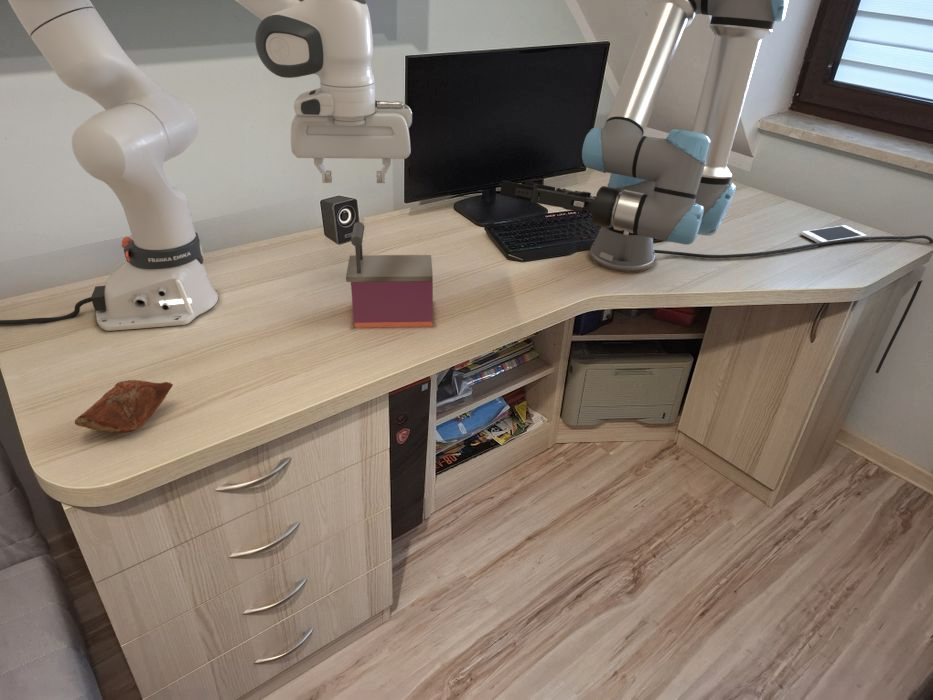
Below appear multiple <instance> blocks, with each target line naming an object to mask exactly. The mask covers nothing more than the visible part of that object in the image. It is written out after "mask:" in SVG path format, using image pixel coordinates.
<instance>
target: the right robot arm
mask: <svg viewBox="0 0 933 700" xmlns="http://www.w3.org/2000/svg"><path fill="white" fill-rule="evenodd" d="M789 1H790V0H646V3H645V7H644V12H645V13H644V14H645V16H646V18H645V21H644V23H643V25H642V28H641V30H640V32H639V36H638V38H637V41H636V43H635V46H634V48H633V51H632V54H631V56H630V59H629V62H628V64H627V66H626V69H625V72H624V74H623V77H622V80H621V81H620V84H619V87H618V89H617V92H616V94H615V97H614V99H613V103H612V104H611V107H610V110H609V112H608V115H607V117H606V120H605V124H604V126H603V128H602V127H593V128H591V129H589V131H588V133H587V134H586V136H585V138H584V141H583V144H582V149H581V159H582V163H583V165H584V167H585V168H587V169H590V170H594V171H597V172H600V173H603V174H607V173H608V174H610V176H609V181H608V183H607V186H606V185H603V186H601V187H599V189H598V190H597V192H596V195H592V192H589V191H585V190H584V191H580V190H570V189H566V188H561V187H558V188H556V187H555V186H551V185H546V184H540V183H536V182H531V181H525V182H524V184H523V183H519V182H512V181H508V180H504V179H503V180H501V185H500V191H499V196H504V197H508V198H513V199H517V200H522V201H527V202H530V203H532V204H539V205H546V206H550V207H555V208H556V207H557V208H561V209H564V210H566V211H573V212H575V213H577V214H587V213H588V212H590V213H591V216H590V221H591V224H592V225H593V226H596V227H600V229H599V231H598V233H597V235H596V237H595V239H594V241H593V243H592V244H591V246H590V250H589V258H590V260H591V261H592V262H593V263H595V265H596V264H597V265H598V266H600V267H601V268H604V269H606V270H610V271H614V272H619V273H640V272H645V271H647V270H649V269H651V268H652V267H653V266H654V263H655V259H656V254H663V255H673V256H682V257H692V258H702V259H732V258H748V257H758V256H768V255H775V254H780V253H787V252H793V251H799V250H803V249H804V250H805V249H808V248H809V249H810V248H815V247H818V246H819V247H820V246H826V245H832V244H839V243H840V244H841V243H847V242H848V243H849V242H856V241H857V242H859V241H877V240H914V239H925V240H927V241H929V243H931V244H933V238H932V237H931V236H929V235H925V234H916V235H905V236H902V235H901V236H900V235H888V236H887V235H885V236H884V235H882V236H866V237H858V238H847V239H840V240H833V241H827V242H819V243H817V242H815V243H809V244H804V245H798V246H793V247H786V248H780V249H774V250H767V251H758V252H747V253H733V254H706V253H705V254H704V253H703V254H702V253H694V252H683V251H675V250H674V251H673V250H666V249H665V250H664V249H654V239H655V240H659V241H663V242H666V243H674V244H679V245H685V246H688V245H691V244H692V243H694V242H695V241H696V239H697V236H698V235H700V236H707V237H710V236H713V235H714V234H716V233H717V231H718V230H719V228H720V227H721V224H722V222H723V220H724V218H725V216H726V215H727V212H728V210H729V208H730V206H731V203H732V201H733V198H734V196H735V193H736V191H737V190H736V189H737V186H736V184H734V183H731V180H732V176H733V174H732V172H731V171H730V169H729V167H728V163H729V159H730V155H731V152H732V148H733V145H734V141H735V137H736V133H737V130H738V125H739V122H740V119H741V115H742V111H743V108H744V104H745V101H746V96H747V93H748V90H749V85H750V81H751V78H752V74H753V71H754V67H755V63H756V60H757V56H758V54H759V49H760V46H761V43H762V41H763V39H765V38H766V37H767V36H768V35H770V34H771V33H772V32H773V30H774V26H775V22H776V23H779V22H783V21H784V20H785V17H786V15H787V9H788V5H789ZM696 15H705V16H711V18H710V21H709V22H710V23H709V28H710V29H711V31H712V33H713V35H714V39H713V43H712V48H711V52H710V55H709V59H708V65H707V68H706V72H705V77H704V80H703V85H702V88H701V93H700V97H699V101H698V106H697V109H696V113H695V117H694V121H693V126H692V129H691V130H685V129H675V128H674V129H671V130H670V131H669V132H668V135H667V137H666V138H661V137H653V136H646V135H644V134H645V132H646V129H647V127H648V124H649V121H650V119H651V117H652V113H653V110H654V108H655V106H656V103H657V100H658V98H659V95H660V92H661V90H662V87H663V85H664V82H665V79H666V77H667V74H668V71H669V69H670V67H671V63H672V61H673V58H674V57H675V53H676V50H677V48H678V45H679V43H680V40H681V38H682V36H683V33H684V30H685V29H686V28H688V27H689V26H690V25H691V24H692V23H693V21H694V18H695V16H696ZM922 282H923V279H921V280H918V281H917V284H916V285H915V288H914V290H913V293H912V295H911V297H910V299H909V301H908V303H907V305H906V307H905V310H904V312H903V314H902V316H901V317H900V320H899V321H898V324H897V326H896V328H895V330H894V332H893V334H892V336H891V338H890V340H889V342H888V344H887V346H886V348H885V351H884V353H883V354H882V357H881V358H880V361H879V363H878V365H877V368H876V370H875V374H879V373H880V371H881V368H882V366H883V364H884V362H885V361H886V358H887V356H888V354H889V352H890V350H891V348H892V345H893V344H894V341H895V339H896V337H897V335H898V334H899V332H900V329H901V328H902V326H903V323H904V321H905V319H906V317H907V315H908V313H909V312H910V310H911V307H912V305H913V303H914V300H915V299H916V296H917V295H918V292H919V290H920V287H921V285H922Z"/></svg>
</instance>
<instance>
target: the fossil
mask: <svg viewBox="0 0 933 700" xmlns="http://www.w3.org/2000/svg"><path fill="white" fill-rule="evenodd" d="M173 386H174V384H173V383H172V382H168V381H164V382H152V381H146V380H139V379H129V380H122V381H119V382H117V383H116V384H115V385H114V386H113V387H112V388H111V389H109V390H108V391H106V392H105V393H104V394H103V395H102V396H101V397H100V398H99V399H98V400H97V401H96V402H94V403H93V404H92V406H90V407H88V409H86V410H85V411H83V413H81V414H80V415H79V416H77V417H76V419H75V420H74V425H76V426H77V427H81V428H86V429H88V430H89V429H90V430H92V431H93V430H95V431H99V432H110V433H116V434H117V433H120V434H125V433H131V432H133V431H136V430H138V429H140V428H141V427H142V426H144V425H145V424H146V423H147V421H148V420H149V419H150V418H151V417H152V416H153V415H154V414H155V413H156V411H157V409H159V407H160V406H161V404H162V403H163V402H164V400H165V398H166V397H167V395H168V393H169V392H170V391H171V389H172V388H173Z"/></svg>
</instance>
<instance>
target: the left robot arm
mask: <svg viewBox="0 0 933 700" xmlns="http://www.w3.org/2000/svg"><path fill="white" fill-rule="evenodd" d="M234 1H235V2H236V3H238V4H239V5H240V6H242V7H243V8H245V9H246V10H248V11H249V12H250V13H251V14H253V15H254V16H255V17H257V18H258V19H260V20H261V21H260V23H259V24H258V26H257V29H256V31H255V38H254V40H255V41H254V43H255V49H256V52H257V55H258V57H259V60H260V61H261V63H262V64H263V66H264V67H265V68H266V69H267V70H268V71H269V72H271V73H272V74H274V75H275V76H277V77H280V78H285V79H287V78H288V79H297V78H300V77H305V76H309V75H310V76H311V75H315V76H318V78H319V86H320V87H318V88H314V89H312V90H309V91H305V92H302V93H300V94H299V95H298V96H297V97H296V98H295V100H294V103H293V110H294V113H295V115H294V117H293V119H292V121H291V124H290V125H291V126H290V149H291V153H292V154H293V156H294V157H296V158H297V159H313V164H314V166H315V167H316V169H317V170H318V172H319V173H320V174H321V179H322V183H323V184H331V183H332V182H333V176H332V170H327V169H326V167H325V165H324V164H323V163H324V160H325V159H366V160H368V159H377V160H382V165H383V166H382V168H381V170H376V173H375V174H376V184H386V174H387V172H388V170H389V168H390V166H391V163H392V162H391V161H392V160H406V159H408V157H410V155H411V154H412V153H411V151H412V150H411V149H412V148H411V136H410V128H411V126H412V124H413V112H412V109H411V108H410V106H409V105H407V104H405V103H404V102H403V101H400V100H395V101H388V100H376V98H377V97H376V80H375V79H376V78H375V76H374V73H373V72H374V71H373V57H374V38H373V28H372V26H373V25H372V20H371V14H370V10H369V6H368V4H367V1H366V0H234ZM7 2H8V3H9V5H10V7H11V9H12V10H13V12H14V15H15V17H17V19H18V20H19V22H20V24H21V25H22V27H23V28H24V30H25V31H26V33H27V35H28V36H29V38H31V40H32V42H33V43H34V44H35V46H36V48H37V49H38V50H39V52H40V53H41V55H42V56H43V58H44V59H45V60H46V62H47V63H48V64H49V66H50V67H51V68H52V70H53V72H54V73H55V74H56V76H57V77H58V78H59V80H60V81H61V82H62V83H63V84H64V85H65V86H66V87H68V89H69V88H70V89H71V90H73V91H75V92H79V93H81V94H83V95H86V96H87V97H89V98H91V99H92V100H94V101H95V103H97V104H99V105H100V107H102V108H103V111H100V112H97V113H94V114H93V115H92V116H90V117H88V119H86V120H85V121H84V122H82V123H81V124H80V125H79V126H78V127H76V128H75V130H74V131H73V133H72V137H71V148H72V152H73V155H74V157H75V159H76V161H77V163H78V165H79V166H80V167H81V168H82V169H83V170H84V171H85V172H86V173H87V174H88V175H90V176H91V177H93V178H94V179H97V180H98V181H101V182H103V183H104V184H105V185H107V186H108V187H109V188H110V189H111V191H112V192H113V193H114V194H115V196H116V198H117V199H118V201H119V203H120V205H121V207H122V209H123V212H124V215H125V219H126V221H127V224H128V227H129V231H130V234H131V237H129V236H125V237H123V238H122V240H121V247H122V248H123V253H124V257H125V260H126V261H125V262H123V264H122V265H121V266H119V267H118V268H117V269H116V270H115V271H114V272H113V273H111V274H110V275H109V277H108V278H107V280H106V282H105V285H96V286H95V287H94V289H93V291H92V293H91V296H90V297H87V298H82V299H81V300H79V301H78V302H76V304H75V305H74V310H73V311H72V312H70V313H68V314H66V315H62V316H61V315H60V316H55V317H54V316H53V317H33V318H21V319H0V326H3V325H4V326H5V325H7V326H10V325H26V324H36V323H52V322H58V321H63V320H68V319H72V318H74V317H77V315H79V314H80V311H81V307H82V306H84V305H86V304H88V303H92V306H93V309H94V311H95V317H96V322H97V324H98V326H99V327H100V328H101V329H102V330H103V331H106V332H111V331H112V332H113V331H125V330H137V329H139V330H140V329H151V328H164V327H174V326H184V325H188V324H190V323H191V322H192V321H194V319H195V318H197V317H198V316H200V315H202V314H204V313H206V312H208V311H209V310H211V309H212V308H213V307H214V306H215V305H216V304H217V303H218V300H219V295H218V292H217V291H216V290H215V288H214V286H213V284H212V282H211V280H210V278H209V274H208V272H207V270H206V267H205V264H204V258H205V257H204V256H205V255H204V251H203V246H202V241H201V239H200V237H199V234H198V232H197V231H196V230H195V229H196V228H195V225H194V224H195V223H194V219H193V216H192V211H191V207H190V201H189V199H188V196H187V194H185V193H184V192H183V191H182V190H181V189H179V188H177V187H175V186H173V185H171V183H170V182H169V180H168V178H167V176H166V173H165V171H164V163H166V162H168V161H169V160H171V159H174V158H176V157H178V156H180V155H181V154H183V153H184V152H185V151H186V150H187V149H188V148H189V147H190V146H191V145H192V143H193V142H194V141H195V140H196V138H197V136H198V131H199V126H198V125H199V124H198V119H197V117H196V115H195V113H194V111H193V109H192V108H191V107H190V106H189V104H188V103H187V102H185V100H183V99H181V98H180V97H178V96H176V95H173V94H171V93H170V92H168V91H166V90H164V89H163V88H161V86H159V85H157V84H156V83H155V82H154V81H153V80H152V79H151V78H150V77H148V76H147V74H146V73H144V71H142V70H141V69H140V68H139V67H138V65H136V64H135V63H134V62H133V61H132V59H131V58H130V57H129V56H128V54H127V53H126V52H125V50H124V49H123V48H122V46H121V45H120V44H119V42H118V41H117V39H116V37H115V35H113V33H112V31H111V30H110V28H109V27H108V26H107V25H106V22H105V21H104V20H103V17H102V16H101V15H100V14H99V12H98V11H97V9H96V7H95V6H94V5H93V2H92V1H91V0H7Z"/></svg>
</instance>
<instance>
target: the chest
mask: <svg viewBox="0 0 933 700" xmlns="http://www.w3.org/2000/svg"><path fill="white" fill-rule="evenodd" d="M433 281H434V280H433ZM433 281H402V282H350V286H351V287H350V288H351V302H352V316H353V328H355V329H359V328H361V329H363V328H364V329H365V328H366V329H367V328H422V327H425V328H427V327H433V326H434V321H433V320H434V311H433V310H434V309H433V308H434V307H433V306H434V305H433V304H434V299H433V298H434V294H433V291H434V288H433V287H434V285H433V284H434V282H433Z"/></svg>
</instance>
